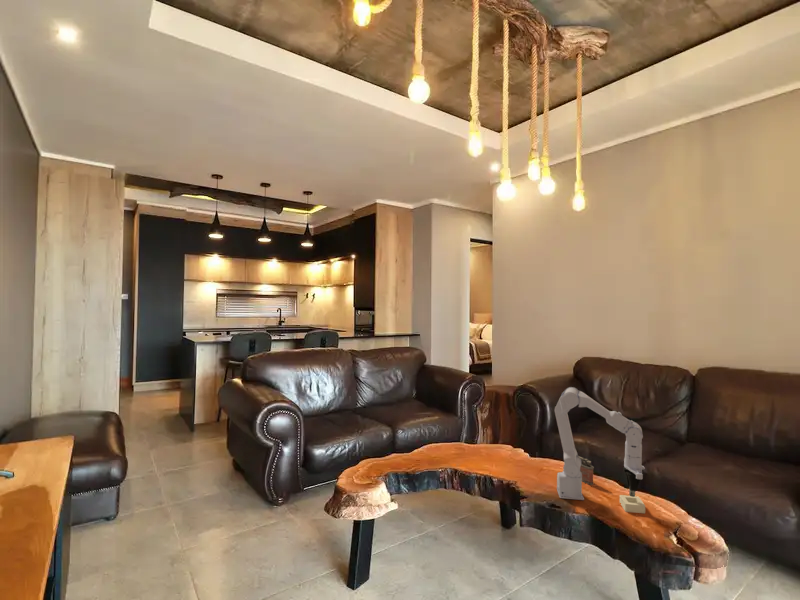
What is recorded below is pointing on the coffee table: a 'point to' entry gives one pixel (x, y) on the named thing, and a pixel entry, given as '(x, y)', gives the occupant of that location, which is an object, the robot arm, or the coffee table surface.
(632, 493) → the metal peg
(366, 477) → the coffee table surface
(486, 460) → the coffee table surface
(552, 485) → the coffee table surface
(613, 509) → the coffee table surface
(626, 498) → the block with square hole
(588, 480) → the lighter
